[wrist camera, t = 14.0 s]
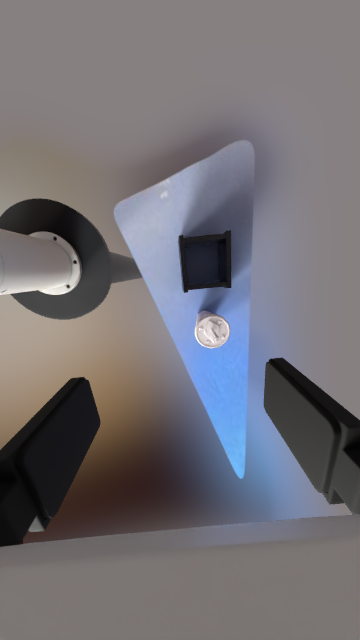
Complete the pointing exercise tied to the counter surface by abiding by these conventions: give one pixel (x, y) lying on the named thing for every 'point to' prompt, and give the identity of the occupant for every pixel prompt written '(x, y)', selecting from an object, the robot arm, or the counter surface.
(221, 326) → the smoothie
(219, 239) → the bottle stand
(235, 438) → the counter surface
